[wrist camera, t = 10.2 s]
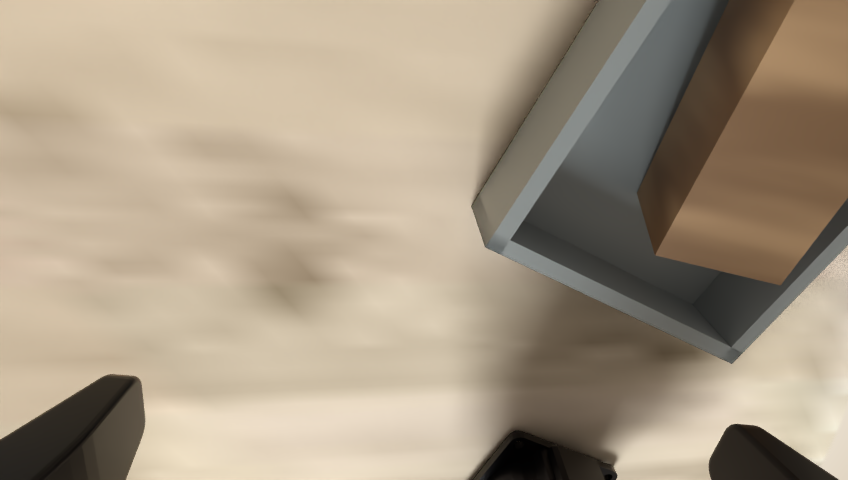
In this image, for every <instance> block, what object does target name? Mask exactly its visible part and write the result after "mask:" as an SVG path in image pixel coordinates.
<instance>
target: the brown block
mask: <svg viewBox="0 0 848 480" xmlns="http://www.w3.org/2000/svg"><path fill="white" fill-rule="evenodd" d="M637 196H638V199H639V203H640V206H641V209H642V213H643V216H644V220H645V223H646V227H647V230H648V233H649V237H650V240H651V244H652V247H653V251H654V254H655V255H656V256H660V257H664V258H668V259H672V260H677V261H681V262H685V263H689V264H693V265H697V266H701V267H706V268H710V269H714V270H718V271H722V272H726V273H731V274H735V275H739V276H743V277H747V278H751V279H756V280H760V281H764V282H768V283H772V284H776V285H781V284H782V283H783V282H784V280H785V279H786V278H787V276H788V275H789V274H790V272H791V271H792V270H793V269H794V267H795V266H796V265H797V263H798V262H799V261H800V259H801V258H802V257H803V256H804V254H805V253H806V252H807V250H808V249H809V248H810V246H811V245H812V244H813V242H814V241H815V240H816V239H817V237H818V236H819V235H820V233H821V232H822V231H823V229H824V228H825V227H826V226H827V224H828V223H829V222H830V220H831V219H832V218H833V216H834V215H835V214H836V212H837V211H838V210H839V209H840V207H841V206H842V205H843V203H844V202H845V201H846V199H847V198H848V0H729V1H728V4H727V6H726V8H725V10H724V12H723V14H722V16H721V18H720V20H719V22H718V24H717V27H716V29H715V31H714V33H713V35H712V37H711V39H710V41H709V43H708V45H707V48H706V50H705V52H704V54H703V56H702V58H701V60H700V62H699V64H698V66H697V68H696V71H695V73H694V75H693V77H692V79H691V81H690V83H689V85H688V87H687V89H686V91H685V94H684V96H683V98H682V100H681V102H680V104H679V106H678V108H677V110H676V112H675V114H674V117H673V119H672V121H671V123H670V125H669V127H668V129H667V131H666V133H665V135H664V137H663V140H662V142H661V144H660V146H659V148H658V150H657V152H656V154H655V156H654V158H653V160H652V163H651V165H650V167H649V169H648V171H647V173H646V175H645V177H644V179H643V181H642V183H641V186H640V188H639V190H638V192H637Z"/></svg>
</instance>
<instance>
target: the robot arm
mask: <svg viewBox="0 0 848 480" xmlns="http://www.w3.org/2000/svg"><path fill="white" fill-rule="evenodd" d="M144 428H145V411H144V402H143V393H142V385H141V381H140V379H139V378H138V377H136V376H129V375H116V374H110V375H106V376H103V377H102V378H100V379H98V380H97V381H95V382H93V383H92V384H90V385H88V386H87V387H85V388H84V389H82V390H80V391H79V392H77V393H75V394H74V395H72V396H71V397H69V398H67V399H66V400H64V401H62V402H61V403H59V404H58V405H56V406H54V407H53V408H51V409H49V410H48V411H46V412H44V413H43V414H41V415H40V416H38V417H36V418H35V419H33V420H31V421H30V422H28V423H27V424H25V425H23V426H22V427H20V428H18V429H17V430H15V431H14V432H12V433H10V434H9V435H7V436H5V437H4V438H2V439H0V480H126V478H127V475H128V472H129V470H130V467H131V465H132V462H133V459H134V457H135V454H136V452H137V449H138V446H139V444H140V441H141V439H142V436H143V432H144ZM517 441H520V442H517ZM709 473H710V477H711V480H838V479H837V478H835V477H834V476H832V475H831V474H829V473H828V472H826V471H825V470H823V469H822V468H820V467H819V466H818V465H816V464H815V463H813V462H812V461H810V460H809V459H807V458H806V457H804V456H803V455H801V454H800V453H798V452H797V451H795V450H794V449H792V448H791V447H789V446H788V445H786V444H785V443H783V442H782V441H780V440H779V439H777V438H776V437H774V436H773V435H771V434H770V433H768V432H767V431H765V430H764V429H762V428H760V427H758V426H754V425H742V424H733V425H730V426H729V427H728V428H727V429H726V430H725V432H724V434H723V435H722V437H721V439H720V441H719V443H718V445H717V446H716V448H715V450H714V452H713V454H712V456H711V458H710V460H709ZM616 479H617V473H616V471H615V469H614V467H613V466H612V465H609V464H607V463H604V462H602V461H599V460H596V459H594V458H591V457H588V456H586V455H583V454H580V453H578V452H575V451H572V450H570V449H567V448H564V447H562V446H559V445H556V444H554V443H551V442H548V441H546V440H543V439H540V438H538V437H535V436H533V435H530V434H527V433H525V432H521V431H515V432H513V433H511V434H510V435H509V436H508V437H507V438H506V439H505V441H504V442H503V443H502V444H501V446H500V447H499V448H498V449H497V451H496V452H495V453H494V454H493V455H492V457H491V458H490V459H489V460H488V462H487V463H486V464H485V465H484V467H483V468H482V469H481V470H480V472H479V473H478V474H477V475H476V476H475V478H474V479H473V480H616Z"/></svg>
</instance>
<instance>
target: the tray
mask: <svg viewBox="0 0 848 480" xmlns="http://www.w3.org/2000/svg"><path fill="white" fill-rule="evenodd" d="M728 1H729V0H599V1H598V2H597V4H596V6H595V7H594V9H593V10H592V12H591V14H590V15H589V17H588V19H587V20H586V22H585V23H584V25H583V27H582V28H581V30H580V31H579V33H578V35H577V36H576V38H575V40H574V41H573V43H572V44H571V46H570V48H569V49H568V51H567V53H566V54H565V56H564V57H563V59H562V61H561V62H560V64H559V65H558V67H557V69H556V70H555V72H554V74H553V75H552V77H551V78H550V80H549V82H548V83H547V85H546V87H545V88H544V90H543V91H542V93H541V95H540V96H539V98H538V99H537V101H536V103H535V104H534V106H533V108H532V109H531V111H530V112H529V114H528V116H527V117H526V119H525V121H524V122H523V124H522V125H521V127H520V129H519V130H518V132H517V133H516V135H515V137H514V138H513V140H512V142H511V143H510V145H509V146H508V148H507V150H506V151H505V153H504V154H503V156H502V158H501V159H500V161H499V163H498V164H497V166H496V167H495V169H494V171H493V172H492V174H491V176H490V177H489V179H488V180H487V182H486V184H485V185H484V187H483V188H482V190H481V192H480V193H479V195H478V197H477V198H476V200H475V201H474V203H473V205H472V209H473V212H474V215H475V218H476V221H477V224H478V227H479V230H480V233H481V236H482V239H483V242H484V245H485V247H486V248H488V249H490V250H492V251H494V252H496V253H498V254H501V255H503V256H505V257H507V258H509V259H511V260H513V261H515V262H518V263H520V264H522V265H524V266H526V267H528V268H530V269H532V270H534V271H537V272H539V273H541V274H543V275H545V276H547V277H549V278H551V279H553V280H556V281H558V282H560V283H562V284H564V285H566V286H568V287H570V288H572V289H575V290H577V291H579V292H581V293H583V294H585V295H587V296H589V297H591V298H594V299H596V300H598V301H600V302H602V303H604V304H606V305H608V306H611V307H613V308H615V309H617V310H619V311H621V312H623V313H625V314H627V315H630V316H632V317H634V318H636V319H638V320H640V321H642V322H644V323H646V324H649V325H651V326H653V327H655V328H657V329H659V330H661V331H663V332H665V333H668V334H670V335H672V336H674V337H676V338H678V339H680V340H682V341H685V342H687V343H689V344H691V345H693V346H695V347H697V348H699V349H701V350H704V351H706V352H708V353H710V354H712V355H714V356H716V357H718V358H720V359H723V360H725V361H727V362H729V363H731V364H732V363H733V362H734V361H735V360H736V359H737V358H738V357H739V356H740V355H741V354H742V353H743V352H744V351H745V350H746V349H747V348H748V347H749V346H750V345H751V344H752V343H753V342H754V341H755V340H756V339H757V338H758V337H759V336H760V335H761V334H762V333H763V332H764V331H765V329H766V328H767V327H768V326H769V325H770V324H771V323H772V322H773V321H774V320H775V319H776V318H777V317H778V316H779V315H780V314H781V313H782V312H783V311H784V310H785V309H786V308H787V307H788V306H789V305H790V304H791V303H792V302H793V301H794V300H795V299H796V298H797V297H798V296H799V295H800V294H801V293H802V292H803V291H804V289H805V288H806V287H807V286H808V285H809V284H810V283H811V282H812V281H813V280H814V279H815V278H816V277H817V276H818V275H819V274H820V273H821V272H822V271H823V270H824V269H825V268H826V267H827V266H828V265H829V264H830V263H831V262H832V261H833V260H834V259H835V258H836V257H837V256H838V255H839V254H840V253H841V252H842V250H843V249H844V248H845V247H846V246H847V245H848V198H847V199H846V201H845V202H844V203H843V205H842V206H841V207H840V209H839V210H838V211H837V212H836V214H835V215H834V216H833V218H832V219H831V220H830V222H829V223H828V224H827V226H826V227H825V228H824V229H823V231H822V232H821V233H820V235H819V236H818V237H817V239H816V240H815V241H814V242H813V244H812V245H811V246H810V248H809V249H808V250H807V252H806V253H805V254H804V256H803V257H802V258H801V259H800V261H799V262H798V263H797V265H796V266H795V267H794V269H793V270H792V271H791V272H790V274H789V275H788V276H787V278H786V279H785V280H784V282H783V283H782V284H781V285H776V284H772V283H768V282H764V281H760V280H756V279H751V278H747V277H743V276H739V275H735V274H731V273H726V272H722V271H718V270H714V269H710V268H706V267H701V266H697V265H693V264H689V263H685V262H681V261H677V260H672V259H668V258H664V257H660V256H656V255H655V254H654V251H653V247H652V244H651V240H650V237H649V233H648V230H647V227H646V223H645V220H644V216H643V213H642V209H641V206H640V203H639V199H638V196H637V192H638V190H639V188H640V186H641V183H642V181H643V179H644V177H645V175H646V173H647V171H648V169H649V167H650V165H651V163H652V160H653V158H654V156H655V154H656V152H657V150H658V148H659V146H660V144H661V142H662V140H663V137H664V135H665V133H666V131H667V129H668V127H669V125H670V123H671V121H672V119H673V117H674V114H675V112H676V110H677V108H678V106H679V104H680V102H681V100H682V98H683V96H684V94H685V91H686V89H687V87H688V85H689V83H690V81H691V79H692V77H693V75H694V73H695V71H696V68H697V66H698V64H699V62H700V60H701V58H702V56H703V54H704V52H705V50H706V48H707V45H708V43H709V41H710V39H711V37H712V35H713V33H714V31H715V29H716V27H717V24H718V22H719V20H720V18H721V16H722V14H723V12H724V10H725V8H726V6H727V4H728Z"/></svg>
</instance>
